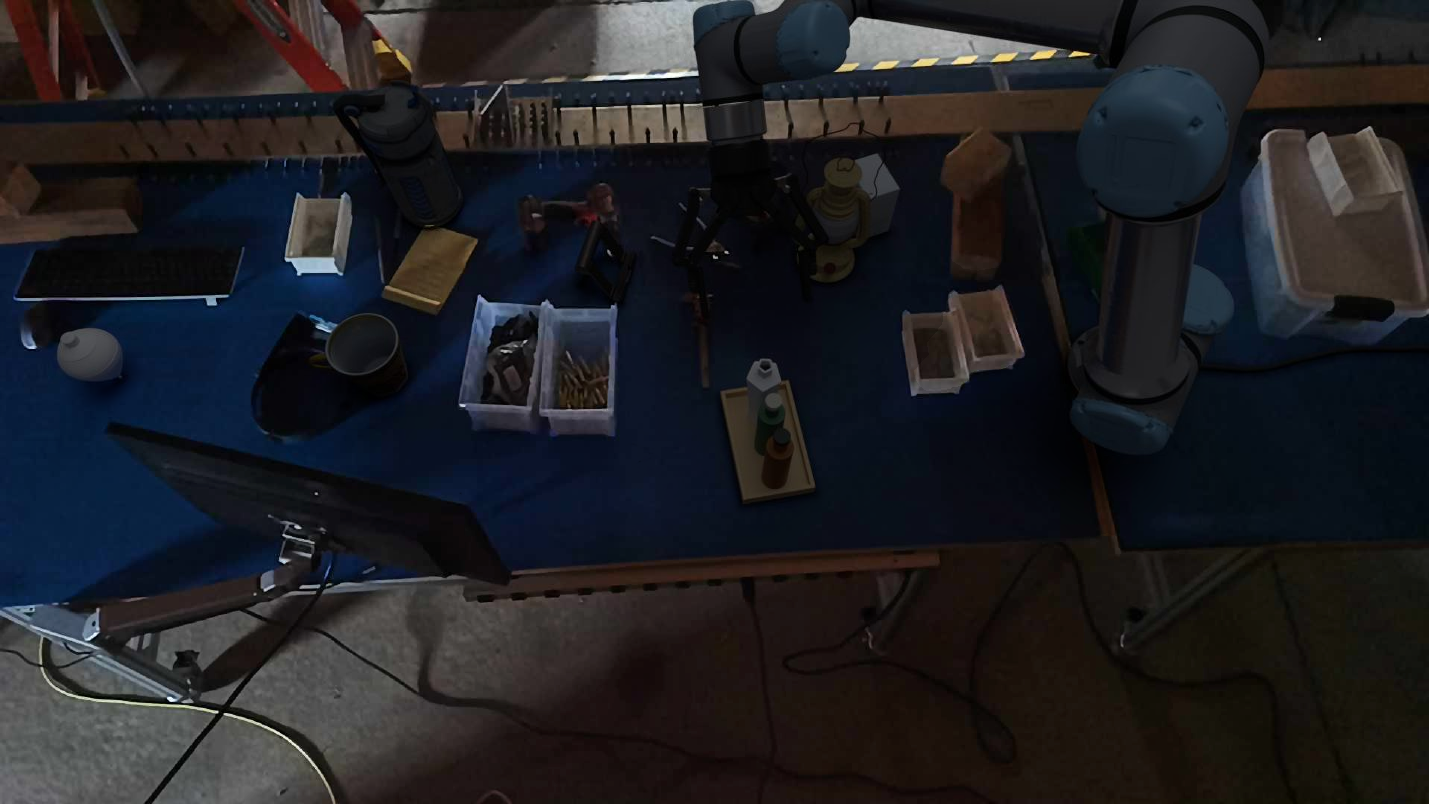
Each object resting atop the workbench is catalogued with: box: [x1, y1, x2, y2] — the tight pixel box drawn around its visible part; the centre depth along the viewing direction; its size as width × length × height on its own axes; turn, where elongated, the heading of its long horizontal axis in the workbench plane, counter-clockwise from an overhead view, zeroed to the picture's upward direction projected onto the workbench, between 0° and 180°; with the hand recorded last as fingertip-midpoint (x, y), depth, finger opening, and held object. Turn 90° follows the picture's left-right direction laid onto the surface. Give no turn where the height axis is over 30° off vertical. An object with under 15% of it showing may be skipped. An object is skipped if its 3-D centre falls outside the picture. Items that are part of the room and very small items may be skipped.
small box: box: [854, 153, 901, 238], centre depth 137 cm, size 8×6×10 cm
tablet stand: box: [574, 220, 637, 304], centre depth 133 cm, size 9×8×8 cm
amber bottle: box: [762, 428, 794, 489], centre depth 115 cm, size 4×4×14 cm
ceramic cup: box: [308, 312, 409, 398], centre depth 124 cm, size 13×10×10 cm
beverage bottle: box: [332, 79, 464, 228], centre depth 131 cm, size 10×13×25 cm
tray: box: [719, 379, 816, 505], centre depth 123 cm, size 10×17×2 cm, turn 11°
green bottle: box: [754, 393, 786, 456], centre depth 117 cm, size 4×4×14 cm
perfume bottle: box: [746, 358, 782, 426], centre depth 119 cm, size 5×4×15 cm
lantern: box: [791, 121, 887, 283], centre depth 125 cm, size 12×10×30 cm
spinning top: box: [56, 327, 124, 382], centre depth 123 cm, size 8×8×12 cm
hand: (756, 309), depth 113 cm, fingers open, 13 cm apart
